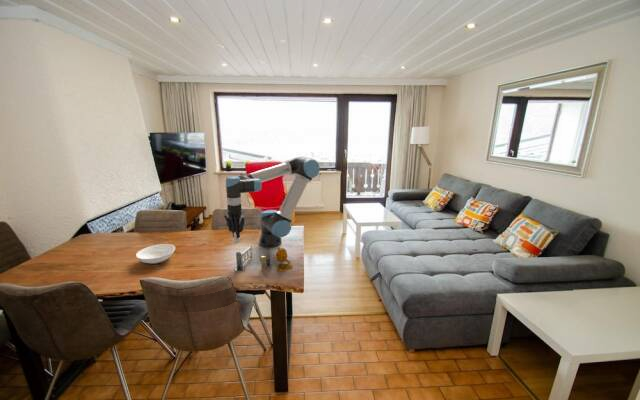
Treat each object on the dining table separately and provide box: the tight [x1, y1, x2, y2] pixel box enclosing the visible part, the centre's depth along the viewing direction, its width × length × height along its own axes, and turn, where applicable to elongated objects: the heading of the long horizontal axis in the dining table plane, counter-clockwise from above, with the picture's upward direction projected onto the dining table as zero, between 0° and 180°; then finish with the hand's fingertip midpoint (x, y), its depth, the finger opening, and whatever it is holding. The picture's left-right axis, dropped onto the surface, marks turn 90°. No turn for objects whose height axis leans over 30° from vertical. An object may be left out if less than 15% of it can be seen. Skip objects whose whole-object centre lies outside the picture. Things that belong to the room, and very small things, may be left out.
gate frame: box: [234, 248, 271, 273], centre depth 149 cm, size 4×19×10 cm, turn 105°
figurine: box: [272, 246, 293, 272], centre depth 149 cm, size 8×11×12 cm
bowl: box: [135, 243, 176, 264], centre depth 156 cm, size 20×20×6 cm
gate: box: [240, 245, 254, 266], centre depth 154 cm, size 12×1×8 cm, turn 165°
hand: (236, 242), depth 155 cm, fingers closed
